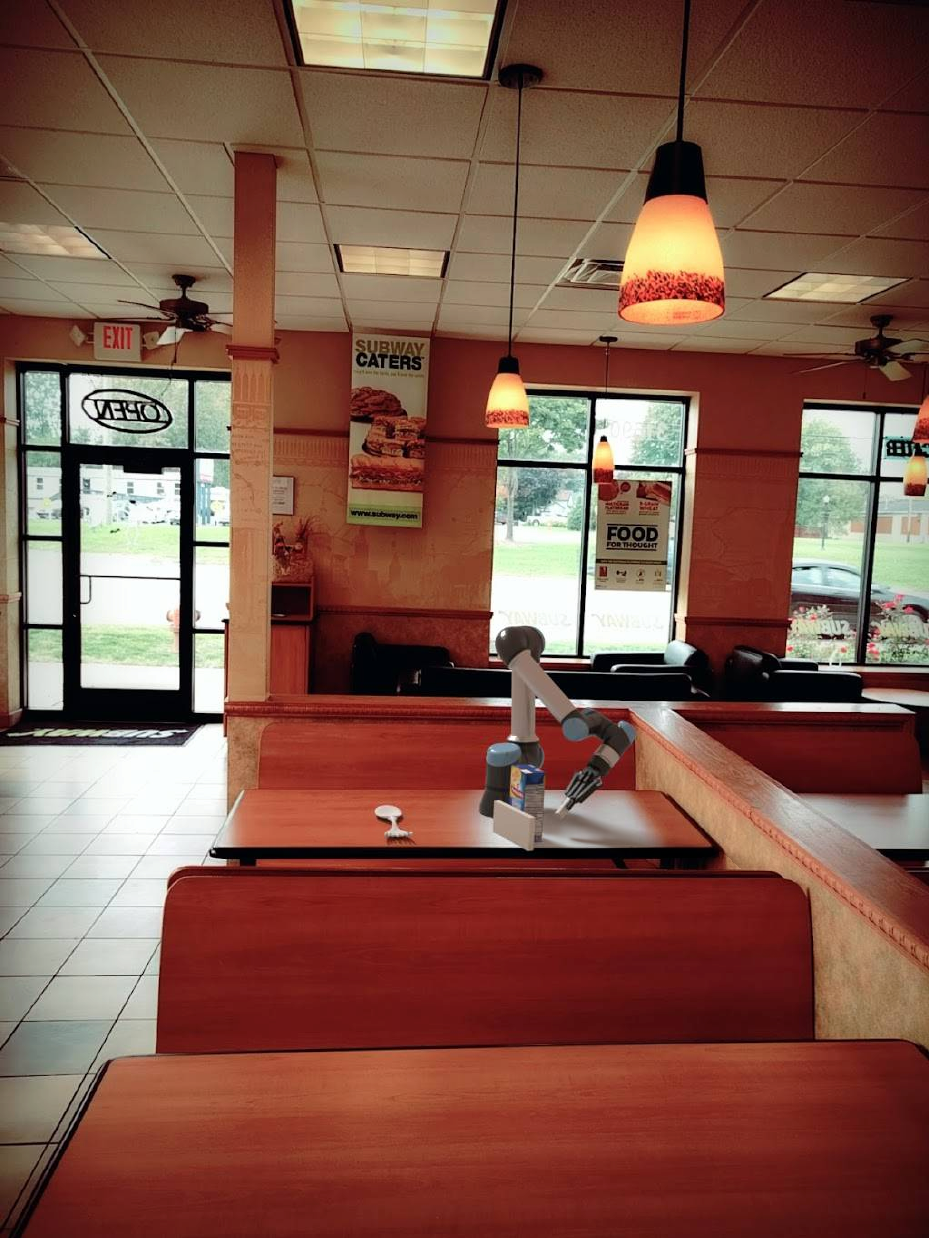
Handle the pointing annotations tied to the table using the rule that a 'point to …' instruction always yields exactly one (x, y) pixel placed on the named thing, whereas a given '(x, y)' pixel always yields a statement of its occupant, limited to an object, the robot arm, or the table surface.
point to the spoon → (391, 814)
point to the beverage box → (529, 793)
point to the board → (514, 825)
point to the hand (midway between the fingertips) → (558, 815)
